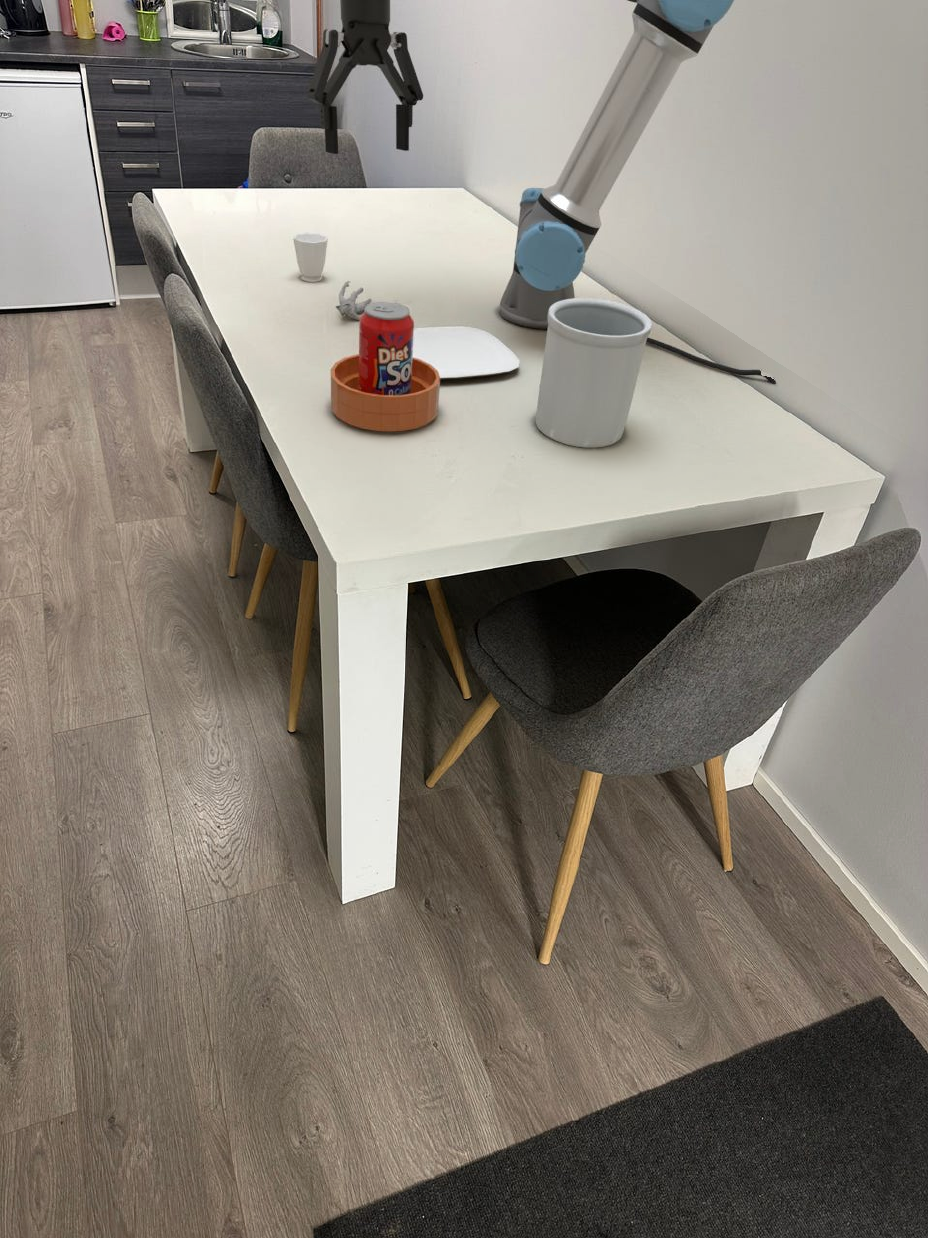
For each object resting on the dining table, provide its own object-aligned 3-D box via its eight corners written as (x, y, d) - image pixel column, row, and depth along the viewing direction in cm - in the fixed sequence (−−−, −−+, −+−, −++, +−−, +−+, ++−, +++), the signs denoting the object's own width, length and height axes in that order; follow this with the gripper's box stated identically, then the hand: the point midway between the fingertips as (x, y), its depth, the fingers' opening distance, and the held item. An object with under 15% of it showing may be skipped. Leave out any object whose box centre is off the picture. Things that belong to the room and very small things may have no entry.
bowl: (445, 397, 139) (448, 360, 135) (426, 442, 126) (428, 403, 123) (346, 382, 140) (346, 346, 136) (318, 425, 128) (317, 387, 124)
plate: (370, 339, 155) (370, 330, 154) (480, 331, 163) (481, 322, 162) (413, 389, 140) (413, 379, 139) (532, 378, 148) (533, 368, 147)
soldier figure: (382, 313, 169) (372, 313, 158) (363, 329, 171) (351, 330, 159) (356, 279, 167) (344, 277, 156) (337, 295, 169) (324, 294, 157)
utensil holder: (643, 447, 131) (670, 333, 120) (552, 453, 127) (571, 336, 116) (604, 405, 142) (625, 296, 131) (518, 409, 138) (533, 298, 127)
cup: (298, 284, 175) (296, 242, 170) (288, 268, 182) (286, 228, 177) (332, 283, 177) (331, 242, 172) (321, 268, 185) (320, 227, 180)
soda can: (364, 393, 136) (366, 296, 127) (414, 399, 136) (419, 303, 127) (353, 414, 130) (353, 314, 121) (404, 421, 130) (409, 321, 120)
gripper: (418, -4, 140) (417, 145, 152) (278, -14, 127) (289, 150, 139) (446, -4, 135) (442, 151, 147) (303, -14, 122) (312, 157, 134)
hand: (368, 151), depth 143 cm, fingers open, 13 cm apart
